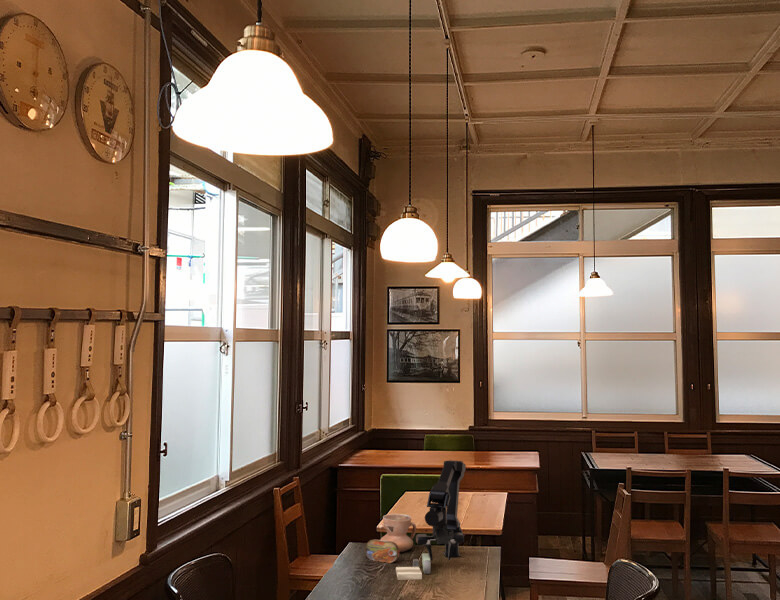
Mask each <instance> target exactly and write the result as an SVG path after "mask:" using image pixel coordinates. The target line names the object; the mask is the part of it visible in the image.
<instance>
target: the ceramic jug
mask: <svg viewBox="0 0 780 600" xmlns="http://www.w3.org/2000/svg"><path fill="white" fill-rule="evenodd" d="M382 520H383V524H378V528H379V529H384V530H385V532H386V534H385V535H384V536H382V537H381V538H380V540H385V541H392V542H394V543H396V544H397V546H398V547H399V553H403V552H407V551H408V550H410V549H412V547H413V546H414V541H413V539H414V537H415V535H416V533H417V525H416V523H415V522H413V521H412V516H410V515H408V514H404V513H388V514H385V515H383V516H382ZM410 527H412V531H411V533H410V534H411V535H410V536H409V535H408V534H407V533H408V530H409V528H410Z"/></svg>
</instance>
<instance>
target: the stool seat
mask: <svg viewBox="0 0 780 600" xmlns="http://www.w3.org/2000/svg"><path fill="white" fill-rule="evenodd" d="M395 574H396V578H397V580H398V581H403V580H405V581H407V580H410V581H411V580H423V573H422V571H421V568H420V566H419V567H413V566H396V567H395Z"/></svg>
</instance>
